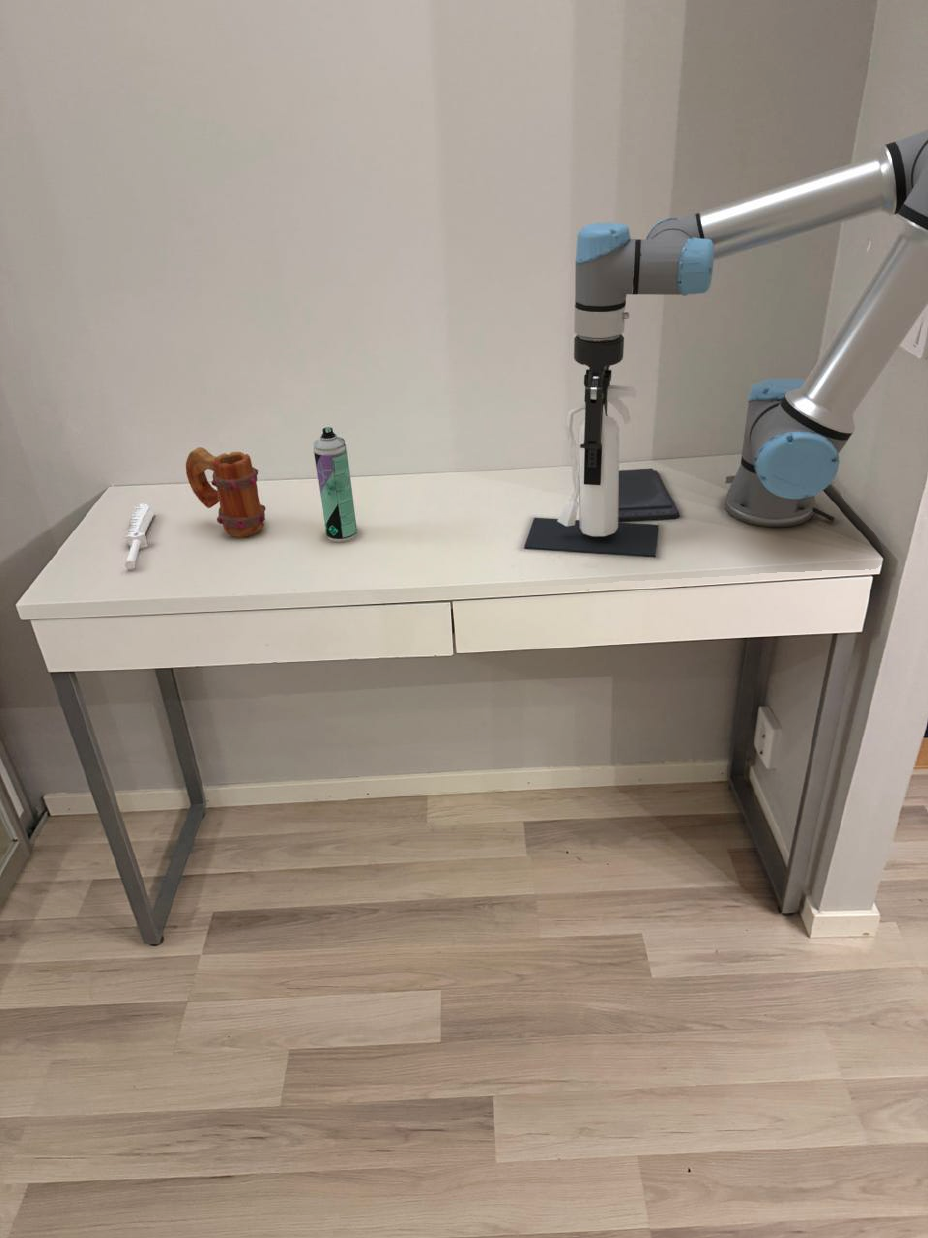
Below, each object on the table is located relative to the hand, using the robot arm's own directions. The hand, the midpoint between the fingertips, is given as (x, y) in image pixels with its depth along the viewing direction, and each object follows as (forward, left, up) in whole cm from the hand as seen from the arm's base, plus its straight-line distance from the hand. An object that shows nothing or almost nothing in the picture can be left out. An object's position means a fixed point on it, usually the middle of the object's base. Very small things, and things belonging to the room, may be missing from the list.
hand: (594, 474), depth 149 cm
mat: (0, 0, -12) cm, 12 cm away
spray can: (+44, +5, -12) cm, 46 cm away
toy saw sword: (+80, +12, -12) cm, 82 cm away
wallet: (-5, -17, -12) cm, 21 cm away
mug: (+65, +5, -12) cm, 66 cm away
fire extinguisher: (0, 0, -10) cm, 10 cm away
